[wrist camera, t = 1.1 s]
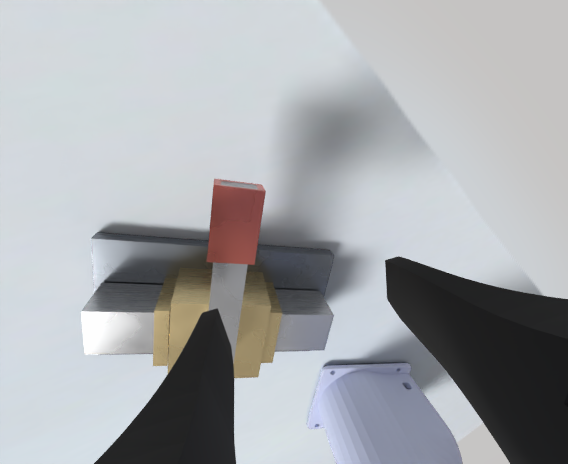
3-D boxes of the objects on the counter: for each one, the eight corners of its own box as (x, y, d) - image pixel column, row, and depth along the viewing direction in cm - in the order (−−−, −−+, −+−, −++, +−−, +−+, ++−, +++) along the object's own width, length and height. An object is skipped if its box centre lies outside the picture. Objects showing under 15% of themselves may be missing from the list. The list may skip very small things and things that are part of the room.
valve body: (329, 250, 22) (357, 284, 18) (306, 342, 25) (325, 392, 21) (97, 232, 18) (56, 270, 14) (103, 344, 21) (71, 406, 17)
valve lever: (235, 354, 18) (237, 377, 16) (198, 355, 17) (196, 378, 16) (260, 183, 14) (265, 191, 12) (214, 177, 13) (213, 184, 12)
